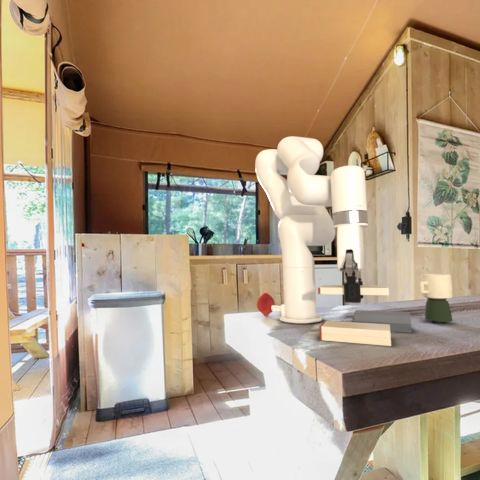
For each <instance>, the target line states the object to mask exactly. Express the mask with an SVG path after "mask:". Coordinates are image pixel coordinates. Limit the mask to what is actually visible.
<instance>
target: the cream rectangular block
mask: <svg viewBox="0 0 480 480" xmlns="http://www.w3.org/2000/svg"><path fill="white" fill-rule="evenodd" d="M318 332H319V333H318V336H319V341H324V342H337V343H349V344H361V345H371V346H372V345H373V346H383V347H384V346H385V347H392V335H391V334H392V333H391V332H390V324H374V323H356V322H352V321H337V320H336V321H335V320H324V321H323V322H322V323H321V324H320V325H319V326H318Z"/></svg>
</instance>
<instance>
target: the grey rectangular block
mask: <svg viewBox="0 0 480 480" xmlns="http://www.w3.org/2000/svg"><path fill="white" fill-rule="evenodd" d="M351 322H356V323H374V324H390V333H391V332H392V333H404V334H405V333H406V334H412V332H413V331H412V318H411V313H410V312H409V311H392V310H391V311H390V310H389V311H388V310H366V309H355V311H354V313H353V318H352V320H351Z"/></svg>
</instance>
